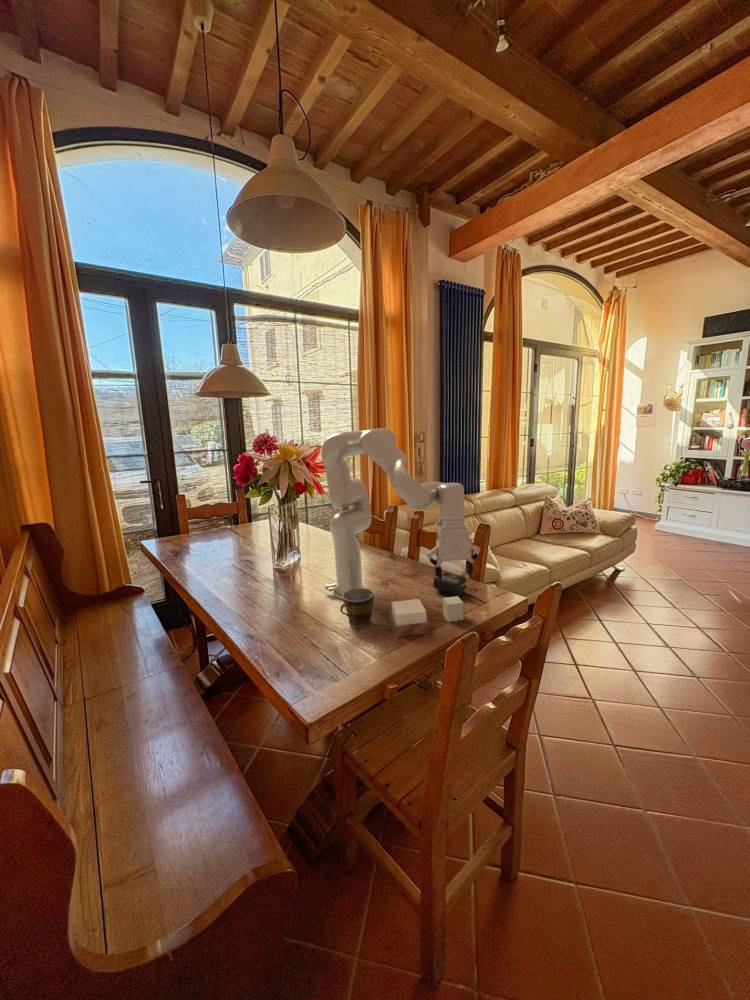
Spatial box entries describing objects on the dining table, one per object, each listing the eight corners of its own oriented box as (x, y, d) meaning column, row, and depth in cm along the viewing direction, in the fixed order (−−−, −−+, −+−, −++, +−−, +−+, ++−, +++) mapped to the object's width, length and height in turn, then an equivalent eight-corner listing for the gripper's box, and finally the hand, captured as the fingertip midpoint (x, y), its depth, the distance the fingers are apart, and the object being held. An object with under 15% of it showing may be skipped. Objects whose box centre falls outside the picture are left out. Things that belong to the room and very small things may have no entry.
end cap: (433, 593, 149) (432, 575, 148) (443, 586, 154) (443, 570, 153) (457, 600, 142) (456, 582, 141) (467, 593, 148) (467, 575, 146)
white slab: (397, 625, 121) (396, 614, 120) (391, 612, 129) (391, 601, 129) (426, 622, 122) (426, 611, 121) (419, 609, 131) (418, 598, 130)
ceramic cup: (358, 613, 136) (357, 585, 134) (381, 621, 130) (380, 592, 128) (331, 629, 126) (328, 599, 124) (354, 639, 120) (352, 608, 118)
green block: (448, 622, 127) (447, 604, 126) (443, 614, 132) (443, 597, 131) (463, 620, 128) (463, 602, 127) (458, 613, 133) (457, 596, 132)
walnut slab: (395, 638, 120) (394, 627, 120) (388, 621, 131) (388, 611, 130) (430, 634, 122) (430, 623, 121) (421, 617, 132) (421, 607, 132)
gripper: (428, 529, 119) (430, 583, 122) (484, 523, 121) (485, 577, 125) (421, 523, 127) (424, 575, 130) (474, 517, 129) (475, 568, 132)
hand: (454, 576), depth 127 cm, fingers open, 9 cm apart
